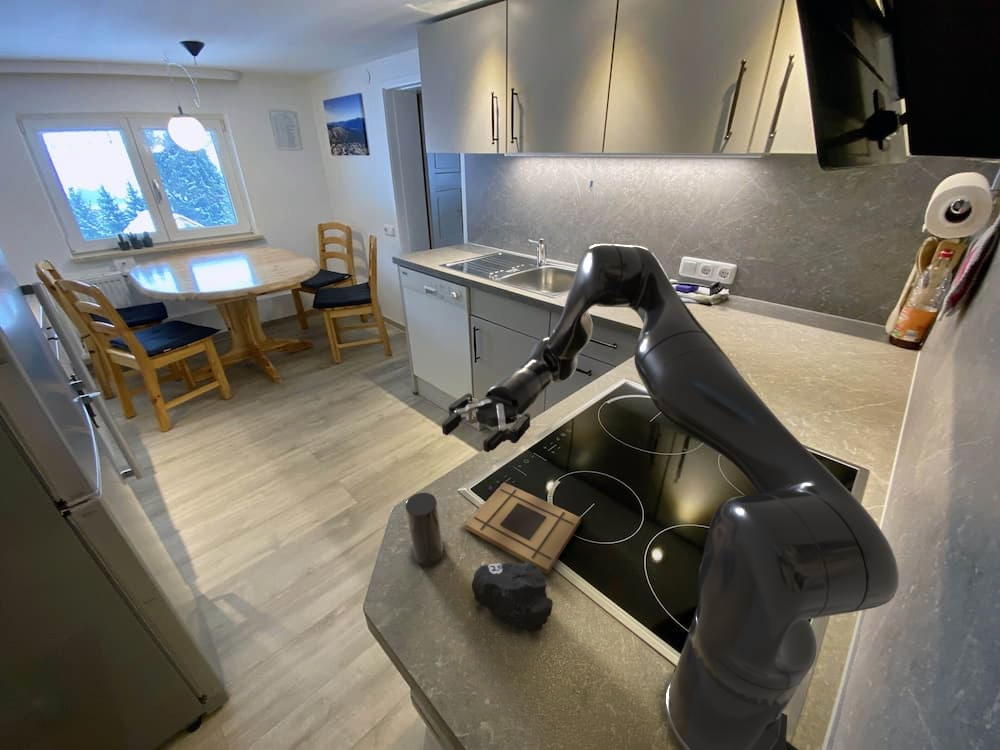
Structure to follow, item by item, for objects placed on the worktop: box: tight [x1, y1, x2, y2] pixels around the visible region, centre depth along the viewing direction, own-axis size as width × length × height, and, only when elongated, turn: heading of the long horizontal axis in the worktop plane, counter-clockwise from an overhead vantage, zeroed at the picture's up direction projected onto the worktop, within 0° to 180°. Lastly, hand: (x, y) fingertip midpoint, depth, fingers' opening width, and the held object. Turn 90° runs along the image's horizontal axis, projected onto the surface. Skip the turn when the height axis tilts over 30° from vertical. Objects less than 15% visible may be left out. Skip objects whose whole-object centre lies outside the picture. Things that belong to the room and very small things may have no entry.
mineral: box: [471, 562, 554, 634], centre depth 58 cm, size 10×9×6 cm
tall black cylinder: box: [405, 492, 444, 566], centre depth 65 cm, size 5×5×11 cm
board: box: [464, 482, 582, 575], centre depth 71 cm, size 16×12×1 cm
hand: (464, 438), depth 68 cm, fingers open, 8 cm apart
